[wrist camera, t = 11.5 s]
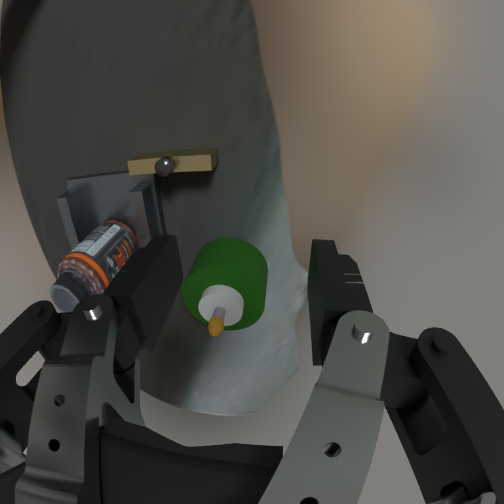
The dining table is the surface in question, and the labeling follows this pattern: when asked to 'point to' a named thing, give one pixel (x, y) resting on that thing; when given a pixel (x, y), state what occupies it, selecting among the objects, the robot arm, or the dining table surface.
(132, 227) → the dock
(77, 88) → the dining table surface
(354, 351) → the robot arm
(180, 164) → the bar
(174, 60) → the dining table surface
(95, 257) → the supplement bottle
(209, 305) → the candle
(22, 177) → the dining table surface
